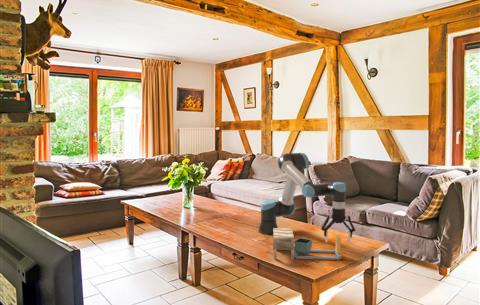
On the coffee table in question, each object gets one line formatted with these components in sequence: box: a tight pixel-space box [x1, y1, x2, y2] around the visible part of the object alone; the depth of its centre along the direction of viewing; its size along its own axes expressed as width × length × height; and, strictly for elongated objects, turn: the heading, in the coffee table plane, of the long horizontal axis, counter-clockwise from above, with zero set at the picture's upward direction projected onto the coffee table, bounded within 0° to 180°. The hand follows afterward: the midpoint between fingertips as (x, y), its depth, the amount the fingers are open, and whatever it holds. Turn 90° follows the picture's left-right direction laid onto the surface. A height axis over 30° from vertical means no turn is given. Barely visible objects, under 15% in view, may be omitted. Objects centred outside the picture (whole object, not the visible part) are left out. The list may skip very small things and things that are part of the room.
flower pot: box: [294, 237, 313, 256], centre depth 223 cm, size 9×9×9 cm
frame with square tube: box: [294, 234, 342, 261], centre depth 222 cm, size 14×28×12 cm, turn 86°
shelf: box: [272, 227, 295, 261], centre depth 224 cm, size 19×12×14 cm, turn 176°
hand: (337, 241), depth 221 cm, fingers open, 13 cm apart
